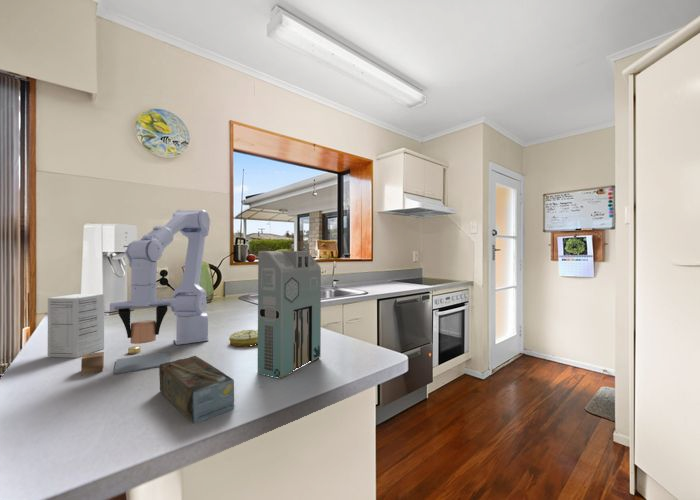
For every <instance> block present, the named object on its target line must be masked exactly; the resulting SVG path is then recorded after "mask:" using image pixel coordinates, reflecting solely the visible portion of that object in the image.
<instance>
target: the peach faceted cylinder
mask: <svg viewBox="0 0 700 500" xmlns="http://www.w3.org/2000/svg"><path fill="white" fill-rule="evenodd" d="M130 327H131V338H130V344H134V345H137V344H139V345H140V344H147V343H151V342H154V341H157V337H156V336H157V335H156V320H151V319H149V320H138V321H134V322H130Z"/></svg>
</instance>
